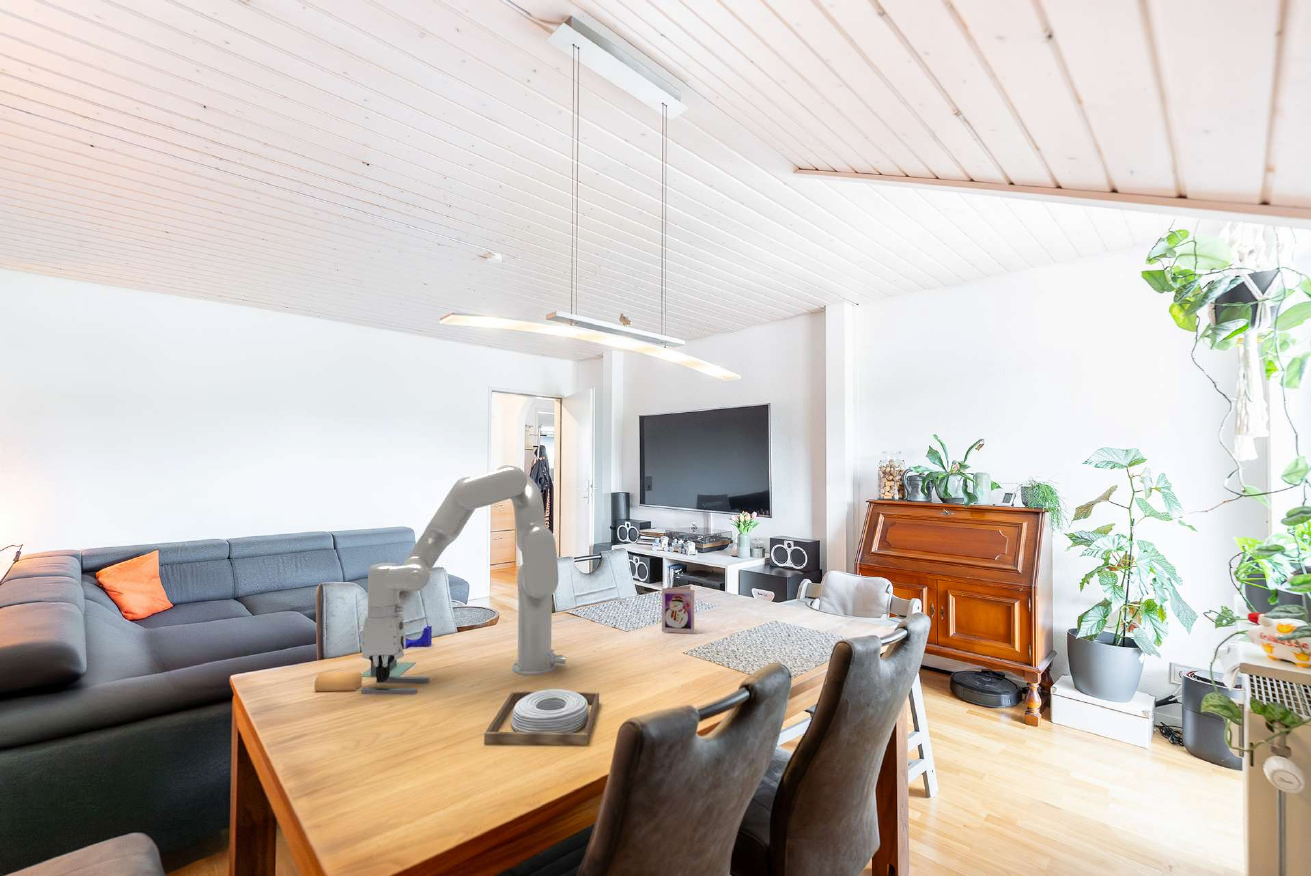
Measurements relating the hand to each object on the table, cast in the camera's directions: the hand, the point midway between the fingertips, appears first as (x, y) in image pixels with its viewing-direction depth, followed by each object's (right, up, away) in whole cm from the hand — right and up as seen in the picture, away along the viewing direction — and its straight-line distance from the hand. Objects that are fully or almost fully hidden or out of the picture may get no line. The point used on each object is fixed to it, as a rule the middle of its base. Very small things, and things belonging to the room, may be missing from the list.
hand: (382, 680), depth 153 cm
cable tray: (+47, -2, -21) cm, 52 cm away
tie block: (-5, -2, +11) cm, 13 cm away
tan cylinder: (-11, -2, 0) cm, 11 cm away
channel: (+4, -2, 0) cm, 4 cm away
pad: (-5, -3, +13) cm, 14 cm away
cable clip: (-7, -4, +34) cm, 35 cm away
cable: (+48, -2, -21) cm, 52 cm away
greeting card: (+80, -4, +52) cm, 96 cm away
